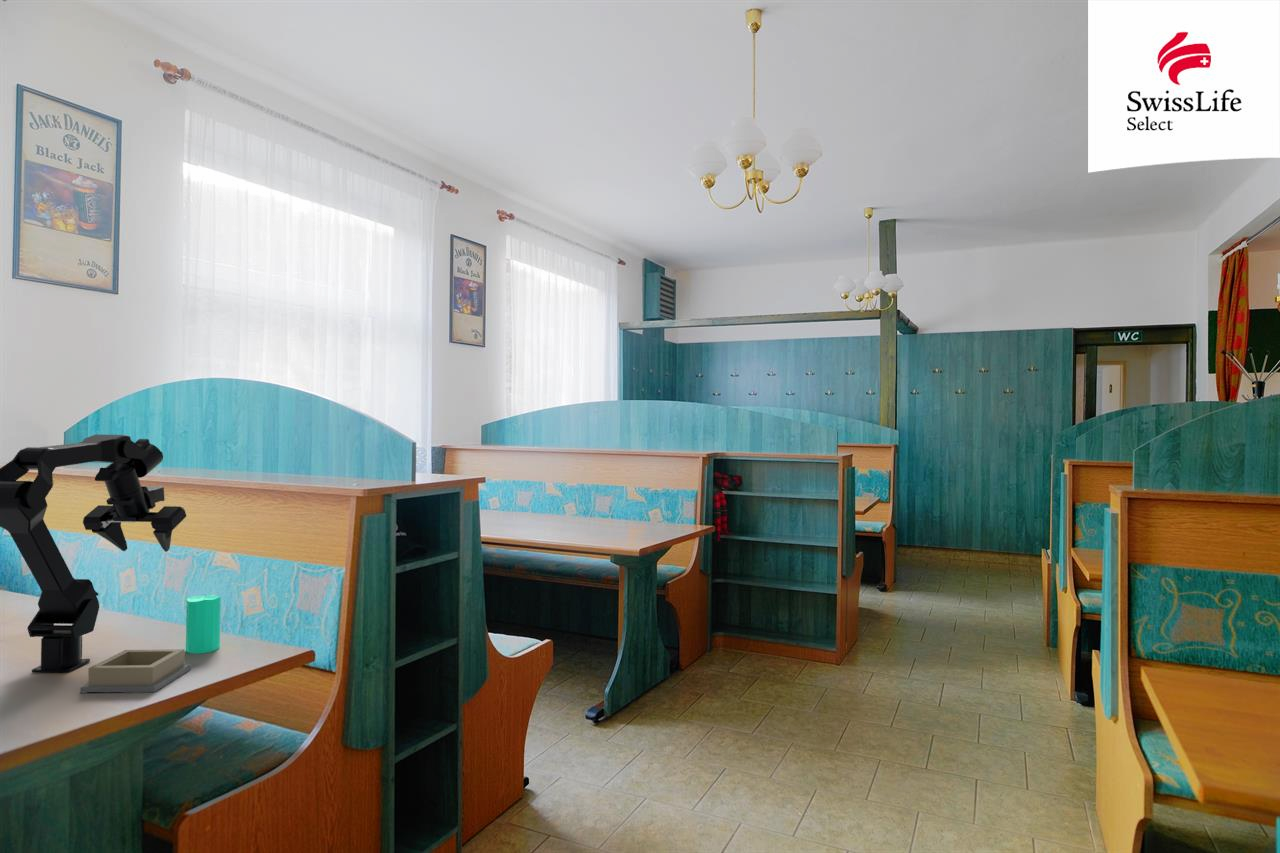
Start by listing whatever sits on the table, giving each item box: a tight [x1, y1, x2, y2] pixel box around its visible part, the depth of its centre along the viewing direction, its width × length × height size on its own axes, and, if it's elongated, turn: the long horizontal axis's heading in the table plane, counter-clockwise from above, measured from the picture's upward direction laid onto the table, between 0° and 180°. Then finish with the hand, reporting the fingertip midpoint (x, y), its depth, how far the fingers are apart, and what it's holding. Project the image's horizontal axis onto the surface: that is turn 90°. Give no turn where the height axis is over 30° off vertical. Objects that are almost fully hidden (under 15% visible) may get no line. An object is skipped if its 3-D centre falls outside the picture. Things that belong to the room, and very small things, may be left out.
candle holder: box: [79, 648, 192, 694], centre depth 132 cm, size 12×12×4 cm
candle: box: [185, 594, 222, 654], centre depth 151 cm, size 6×6×12 cm
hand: (146, 550), depth 162 cm, fingers open, 9 cm apart
